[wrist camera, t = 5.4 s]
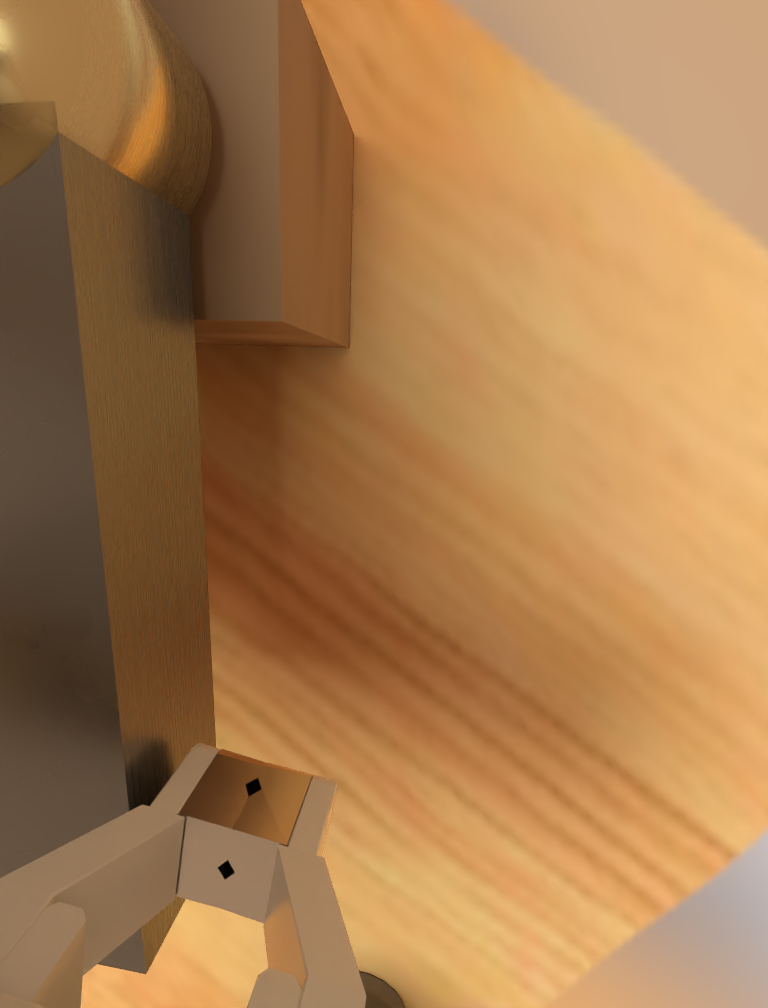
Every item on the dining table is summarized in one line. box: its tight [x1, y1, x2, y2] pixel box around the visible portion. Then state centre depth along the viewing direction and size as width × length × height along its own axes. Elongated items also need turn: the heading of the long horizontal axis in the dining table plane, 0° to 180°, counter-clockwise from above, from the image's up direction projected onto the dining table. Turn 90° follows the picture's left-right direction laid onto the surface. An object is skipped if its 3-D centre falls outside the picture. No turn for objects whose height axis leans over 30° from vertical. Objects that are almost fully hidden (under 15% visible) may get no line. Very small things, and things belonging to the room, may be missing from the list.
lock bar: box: [0, 0, 216, 974], centre depth 9 cm, size 17×4×3 cm, turn 178°
